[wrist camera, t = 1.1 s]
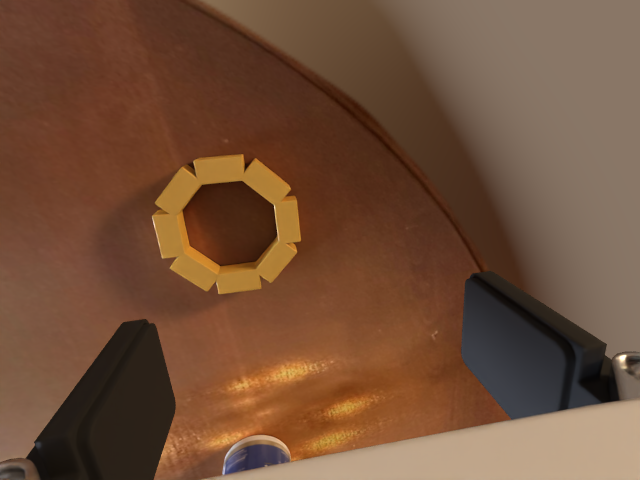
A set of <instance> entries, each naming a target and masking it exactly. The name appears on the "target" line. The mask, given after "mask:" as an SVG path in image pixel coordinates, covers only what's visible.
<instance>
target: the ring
mask: <svg viewBox="0 0 640 480" xmlns="http://www.w3.org/2000/svg"><path fill="white" fill-rule="evenodd" d="M193 162H194V168H195V170H194V169H193V168H191V167H190V166H188V165H187V164H186V165H185V166H183V167H181V168H180V169H179V171H178V172H177V173H176V175H175V176H174V177H173V179H172V180H171V181H170V183H169V184H168V185H167V187H166V188H165V189H164V191H163V192H162V194H161V195H160V196H159V198H158V199H157V200H156V202H155V204H156V205H157V206H159V207H160V208H162V209H163V210H158V211H157V212H156V213H155V214H153V215H152V218H153V222H154V227H155V231H156V235H157V239H158V243H159V247H160V251H161V256H162V258H171V257H177V258H176V259H175V260H174V262H173V264H172V265H171V267H170V269H171V270H173V271H175V272H176V273H178V274H179V275H181V276H183V277H184V278H186V279H187V280H189V281H191V282H192V283H194V284H195V285H197V286H199V287H200V288H202V289H203V290H205V291H208V290H209V289H210V288H211V287H212V285H213V284H214V283H215V282H216V283H217V288H218V293H219V294H226V293H233V292H240V291H248V290H255V289H261V277H263V278H264V279H266V280H267V281H269V282H270V283H272V282H273V280H274V279H275V278H276V277H277V276H278V275H279V273H280V272H281V271H282V270H283V269H284V268H285V266H286V265H287V264H288V263H289V262H290V260H291V259H292V258H293V257H294V256H295V255H296V253H297V249H296V245H295V244H293V242H300V241H301V237H300V227H299V217H298V207H297V200H296V197H295V196H286V195H287V194H288V192H289V191H290V190H291V189H290V186H289V185H288V184H287V183H286V182H285V181H283V180H282V179H281V178H280V177H278V176H277V175H276V174H275V173H273V172H272V171H271V170H270V169H269V168H267V167H266V166H265V165H264V164H262V163H261V162H260V161H259V160H257V159H256V158H254V159H253V161H252V162H251V163H250V164H249V166H248V167H247V168H246V170H245V163H244V156H243V154H237V155H226V156H215V157H204V158H198V159H196V160H194V161H193ZM234 181H243V182H245V183H246V184H247V185H248V186H250V187H251V188H252V189H254V190H255V191H256V192H257V193H259V194H260V195H261V196H263V197H264V198H265V199H267V200H268V201H269V202H270V203H272V204H273V205H274V210H275V218H276V226H277V234H278V236H277V237H276V238H275V239H274V240H273V242H272V243H271V244H270V245H269V246H268V248H267V249H266V250H265V251H264V252H263V254H262V255H261V256H260V257H259V258H258V260H257V261H256V262H248V263H241V264H233V265H225V266H219V265H218V264H216V263H215V262H213V261H212V260H210V259H209V258H207V257H206V256H204V255H203V254H201V253H200V252H198V251H197V250H195V249H194V248H192V247H191V246H190V245H189V240H188V235H187V230H186V226H185V221H184V216H183V211H182V210H183V209H184V208H185V206H186V205H187V204H188V202H189V201H190V200H191V199H192V197H193V196H194V195H195V193H196V192H197V191H198V189H199V188H200V187H201V186H202V185H204V184H214V183H224V182H234ZM285 196H286V197H285Z"/></svg>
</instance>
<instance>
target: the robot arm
mask: <svg viewBox="0 0 640 480" xmlns="http://www.w3.org/2000/svg"><path fill="white" fill-rule="evenodd" d="M606 345H607V344H606V343H604V342H602V341H601V340H599V339H598V338H596V337H595V336H593V335H591V334H590V333H588V332H587V331H585V330H583V329H582V328H580V327H579V326H577V325H576V324H574V323H573V322H571V321H569V320H568V319H566V318H565V317H563V316H561V315H560V314H558V313H557V312H555V311H554V310H552V309H551V308H549V307H547V306H546V305H544V304H543V303H541V302H540V301H538V300H536V299H534V298H533V297H532V296H530V295H528V294H527V293H525V292H524V291H522V290H521V289H519V288H517V287H516V286H514V285H513V284H511V283H510V282H508V281H507V280H505V279H503V278H502V277H500V276H499V275H497V274H495V273H494V272H492V271H488V272H481V273H473V274H472V275H471V276H470V279H467V280H466V282H465V294H464V311H463V329H462V347H461V354H462V358H463V361H464V363H465V364H466V366H467V367H468V368H469V369H470V370H471V372H472V373H473V374H474V375H475V376H476V378H477V379H478V380H479V381H480V382H481V383H482V385H483V386H484V387H485V388H486V389H487V391H488V392H489V393H490V394H491V395H492V397H493V398H494V399H495V400H496V401H497V403H498V404H499V405H500V406H501V407H502V408H503V410H504V411H505V412H506V413H507V414H508V416H509V417H510V418H511V419H512V420H507V421H502V422H497V423H491V424H486V425H481V426H475V427H470V428H465V429H459V430H454V431H449V432H444V433H438V434H433V435H428V436H423V437H417V438H412V439H407V440H402V441H396V442H391V443H386V444H381V445H375V446H370V447H365V448H360V449H355V450H349V451H344V452H339V453H334V454H329V455H323V456H318V457H313V458H308V459H303V460H297V461H292V462H287V463H282V464H277V465H272V466H266V467H261V468H256V469H251V470H246V471H241V472H236V473H231V474H226V475H221V476H216V477H211V478H206V479H200V480H640V352H622V353H618V354H616V355H615V356H614V357H613V358H612V360H611V359H610V358H608V357H607V356H605V350H606ZM175 406H176V404H175V397H174V393H173V390H172V386H171V382H170V378H169V374H168V370H167V367H166V363H165V359H164V355H163V351H162V347H161V344H160V340H159V336H158V332H157V328H156V326H155V324H154V323H151V324H149V322H148V321H147V320H146V319H143V320H136V321H129V322H123V323H122V324H121V325H120V327H119V328H118V329H117V331H116V332H115V334H114V335H113V336H112V338H111V339H110V340H109V342H108V343H107V344H106V346H105V347H104V348H103V350H102V351H101V352H100V354H99V355H98V357H97V358H96V359H95V361H94V362H93V363H92V365H91V366H90V367H89V369H88V370H87V371H86V373H85V374H84V375H83V377H82V378H81V380H80V381H79V382H78V384H77V385H76V386H75V388H74V389H73V390H72V392H71V393H70V394H69V396H68V397H67V398H66V400H65V401H64V403H63V404H62V405H61V407H60V408H59V409H58V411H57V412H56V413H55V415H54V416H53V417H52V419H51V420H50V422H49V423H48V424H47V426H46V427H45V428H44V430H43V431H42V432H41V434H40V435H39V436H38V438H37V439H36V440H35V442H34V443H35V446H34V448H33V449H32V450H31V452H30V453H29V454H28V456H27V457H26V459H24V458H16V459H9V460H6V461H3V462H0V480H153V479H154V476H155V473H156V470H157V467H158V464H159V460H160V457H161V454H162V451H163V448H164V445H165V442H166V439H167V436H168V433H169V429H170V426H171V423H172V420H173V417H174V414H175Z"/></svg>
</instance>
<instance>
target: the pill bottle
mask: <svg viewBox="0 0 640 480" xmlns="http://www.w3.org/2000/svg"><path fill="white" fill-rule="evenodd" d="M287 462H291V456H290V452H289V450H288V448H287V446H286V445H285V444H284V443H283V442H282V441H280V440H279V439H277V438H275V437H272V436H268V435H254V436H250V437H246V438H244V439H242V440H240V441H239V442H237V443H236V444H235V445H233V446H232V448H231V449H230V450H229V451H228V453H227V455H226V457H225V460H224V466H223V473H222V475H226V474H231V473H236V472H241V471H246V470H251V469H256V468H261V467H266V466H272V465H277V464H282V463H287Z"/></svg>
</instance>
